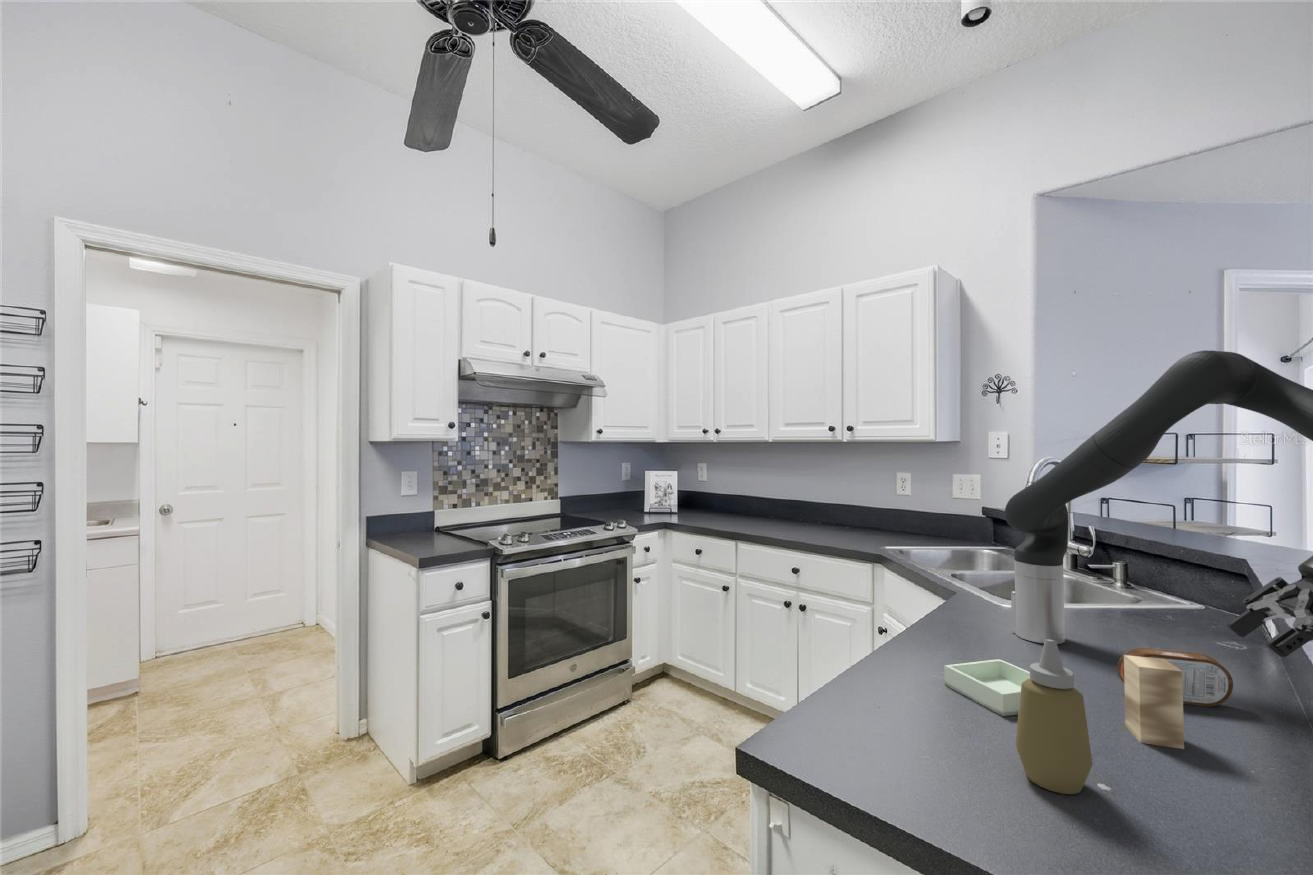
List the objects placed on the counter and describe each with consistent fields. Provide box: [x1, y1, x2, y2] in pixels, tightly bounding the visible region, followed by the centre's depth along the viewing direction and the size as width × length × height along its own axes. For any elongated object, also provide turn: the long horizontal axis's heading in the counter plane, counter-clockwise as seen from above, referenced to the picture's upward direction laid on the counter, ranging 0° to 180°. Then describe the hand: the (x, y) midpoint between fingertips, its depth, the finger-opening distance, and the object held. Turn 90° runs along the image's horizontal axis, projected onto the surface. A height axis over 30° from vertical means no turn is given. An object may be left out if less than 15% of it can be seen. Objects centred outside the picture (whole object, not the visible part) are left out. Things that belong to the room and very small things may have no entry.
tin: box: [1117, 646, 1234, 707], centre depth 94 cm, size 15×3×8 cm, turn 71°
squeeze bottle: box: [1015, 639, 1094, 795], centre depth 71 cm, size 8×8×18 cm
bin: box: [943, 658, 1030, 717], centre depth 96 cm, size 12×12×4 cm
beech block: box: [1123, 654, 1185, 750], centre depth 82 cm, size 5×5×11 cm
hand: (1252, 641), depth 78 cm, fingers open, 8 cm apart
